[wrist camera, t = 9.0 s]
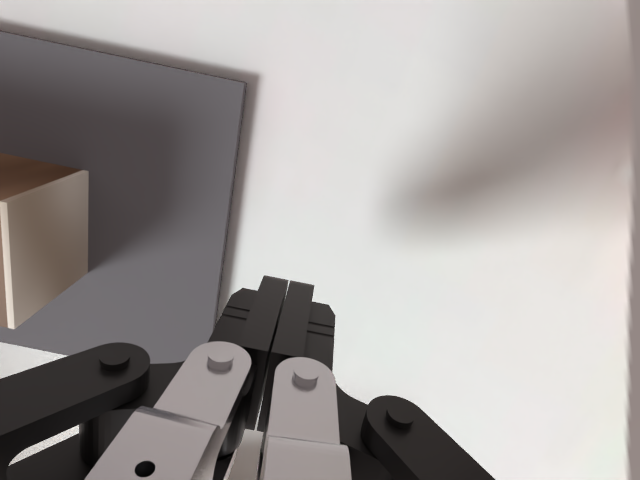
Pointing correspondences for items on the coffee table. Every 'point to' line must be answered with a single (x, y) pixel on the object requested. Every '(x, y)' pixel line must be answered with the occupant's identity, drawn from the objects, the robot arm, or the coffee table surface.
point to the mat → (128, 191)
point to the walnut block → (39, 234)
